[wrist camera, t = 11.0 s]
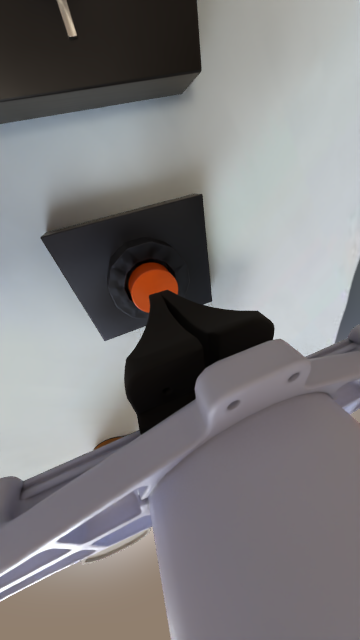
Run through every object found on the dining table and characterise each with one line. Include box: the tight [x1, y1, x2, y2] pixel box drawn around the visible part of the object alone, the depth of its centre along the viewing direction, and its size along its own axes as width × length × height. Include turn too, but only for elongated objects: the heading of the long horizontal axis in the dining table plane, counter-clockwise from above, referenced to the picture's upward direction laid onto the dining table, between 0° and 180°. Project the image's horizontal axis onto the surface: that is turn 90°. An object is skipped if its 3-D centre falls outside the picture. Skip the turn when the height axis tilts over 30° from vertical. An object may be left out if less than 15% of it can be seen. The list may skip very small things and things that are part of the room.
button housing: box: [41, 194, 212, 341], centre depth 16 cm, size 12×10×4 cm
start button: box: [129, 262, 178, 313], centre depth 15 cm, size 4×4×2 cm
